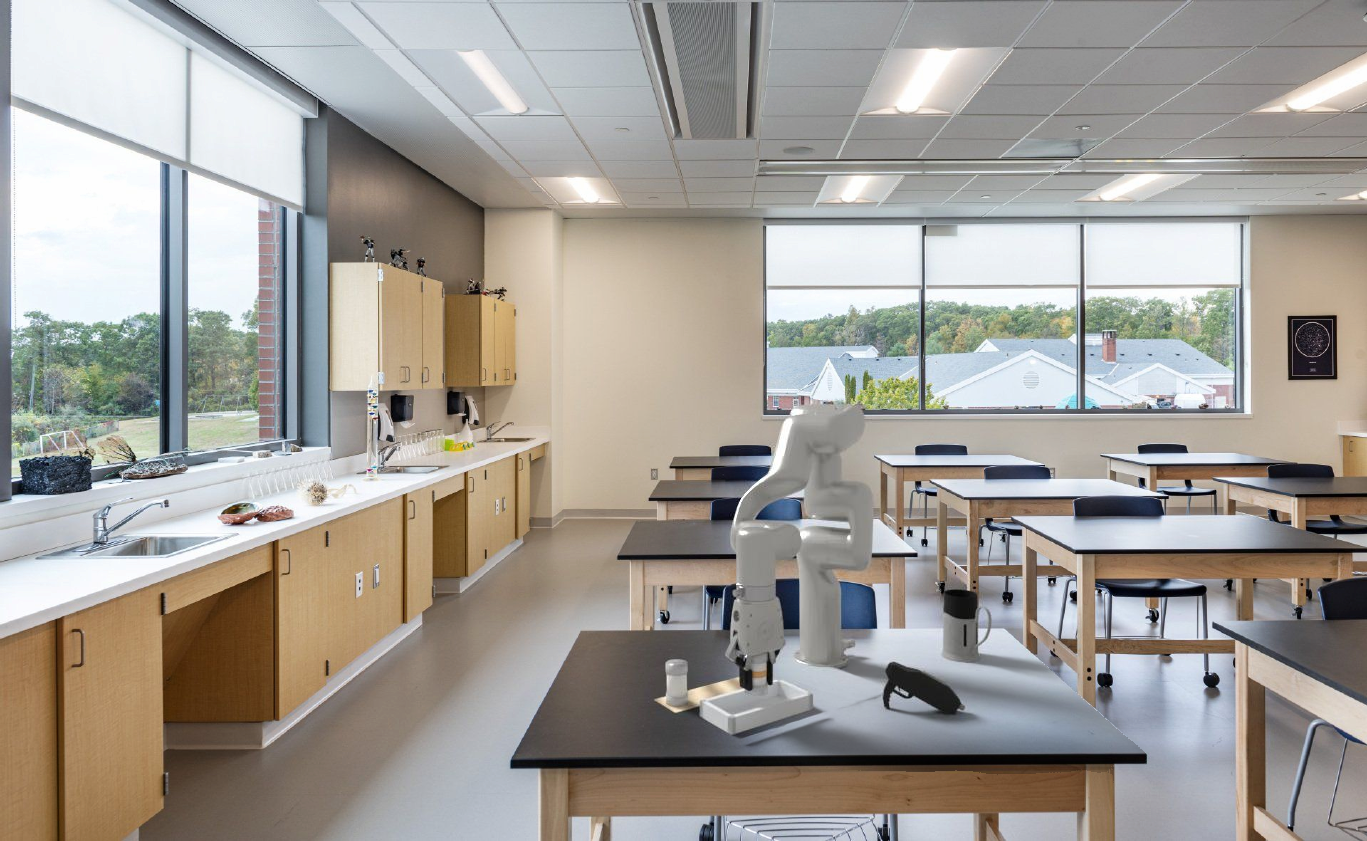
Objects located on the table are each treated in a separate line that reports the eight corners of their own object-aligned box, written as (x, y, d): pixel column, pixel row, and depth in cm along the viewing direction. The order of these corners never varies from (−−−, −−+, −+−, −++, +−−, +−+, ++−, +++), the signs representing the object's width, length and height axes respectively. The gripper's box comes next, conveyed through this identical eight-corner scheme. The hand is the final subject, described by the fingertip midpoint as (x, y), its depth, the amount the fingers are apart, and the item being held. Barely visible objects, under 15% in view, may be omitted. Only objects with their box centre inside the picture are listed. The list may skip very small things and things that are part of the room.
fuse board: (754, 677, 173) (754, 672, 173) (777, 688, 166) (777, 683, 166) (653, 704, 158) (653, 699, 158) (675, 717, 152) (675, 712, 152)
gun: (946, 743, 152) (971, 700, 151) (870, 700, 154) (894, 657, 153) (944, 737, 155) (969, 694, 154) (870, 695, 157) (893, 652, 156)
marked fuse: (772, 692, 150) (772, 651, 150) (754, 697, 148) (754, 655, 148) (757, 685, 154) (757, 645, 154) (740, 690, 152) (739, 649, 151)
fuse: (680, 696, 160) (679, 657, 159) (692, 703, 156) (691, 664, 156) (661, 701, 157) (661, 662, 157) (673, 708, 153) (673, 668, 153)
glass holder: (962, 648, 191) (962, 587, 190) (1005, 667, 178) (1005, 601, 177) (933, 652, 188) (933, 590, 187) (974, 672, 174) (974, 605, 174)
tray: (779, 697, 161) (779, 678, 161) (813, 714, 153) (812, 693, 153) (699, 721, 150) (699, 700, 150) (731, 740, 142) (731, 718, 141)
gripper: (732, 602, 143) (733, 701, 143) (801, 589, 152) (802, 682, 152) (709, 594, 149) (709, 689, 149) (776, 582, 158) (776, 671, 159)
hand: (756, 684), depth 151 cm, fingers closed on marked fuse, 4 cm apart
